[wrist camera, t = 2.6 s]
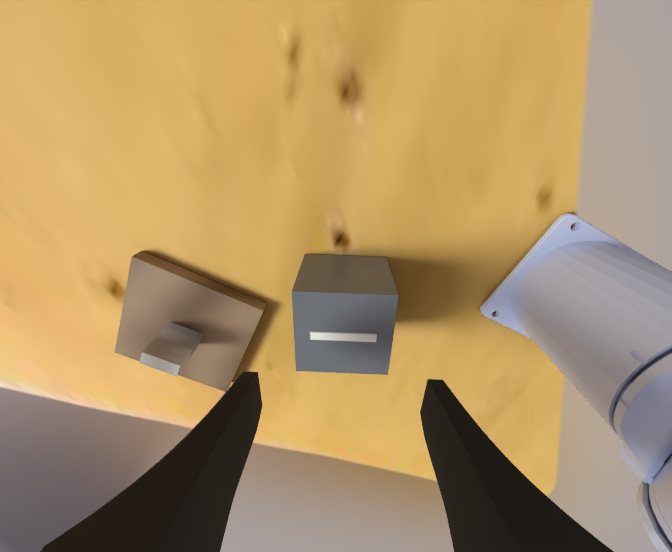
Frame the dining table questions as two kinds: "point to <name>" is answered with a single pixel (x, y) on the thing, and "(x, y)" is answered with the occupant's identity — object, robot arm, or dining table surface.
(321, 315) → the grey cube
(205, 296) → the base
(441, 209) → the dining table surface
